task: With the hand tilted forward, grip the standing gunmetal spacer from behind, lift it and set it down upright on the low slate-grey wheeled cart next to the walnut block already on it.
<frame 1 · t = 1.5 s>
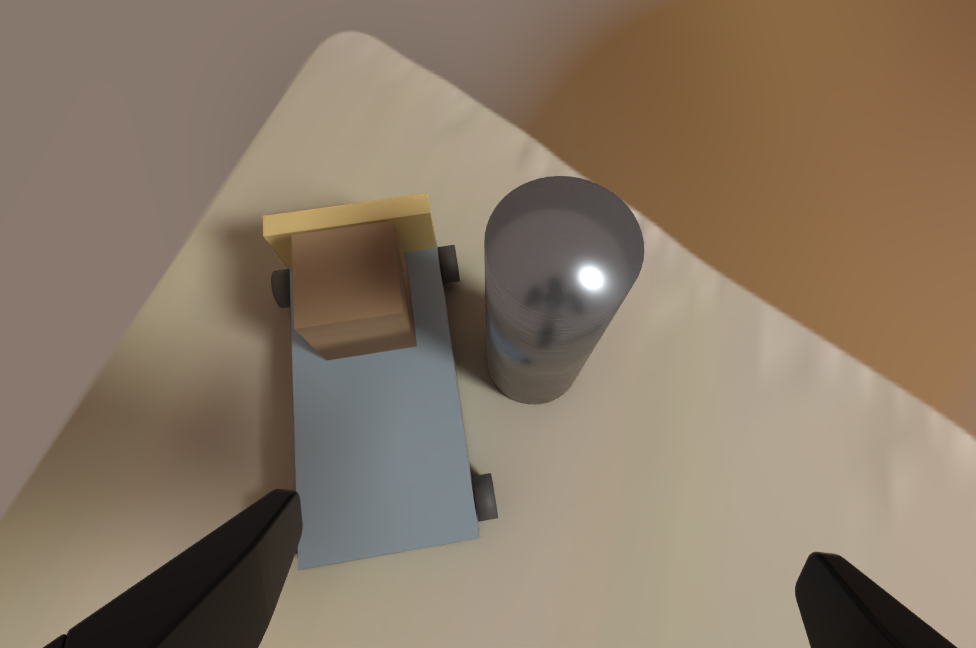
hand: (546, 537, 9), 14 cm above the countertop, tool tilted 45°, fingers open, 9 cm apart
cart: (382, 389, 24), on the countertop
collected block: (368, 312, 23), point 2 cm above the countertop, touching cart
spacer: (532, 358, 24), on the countertop
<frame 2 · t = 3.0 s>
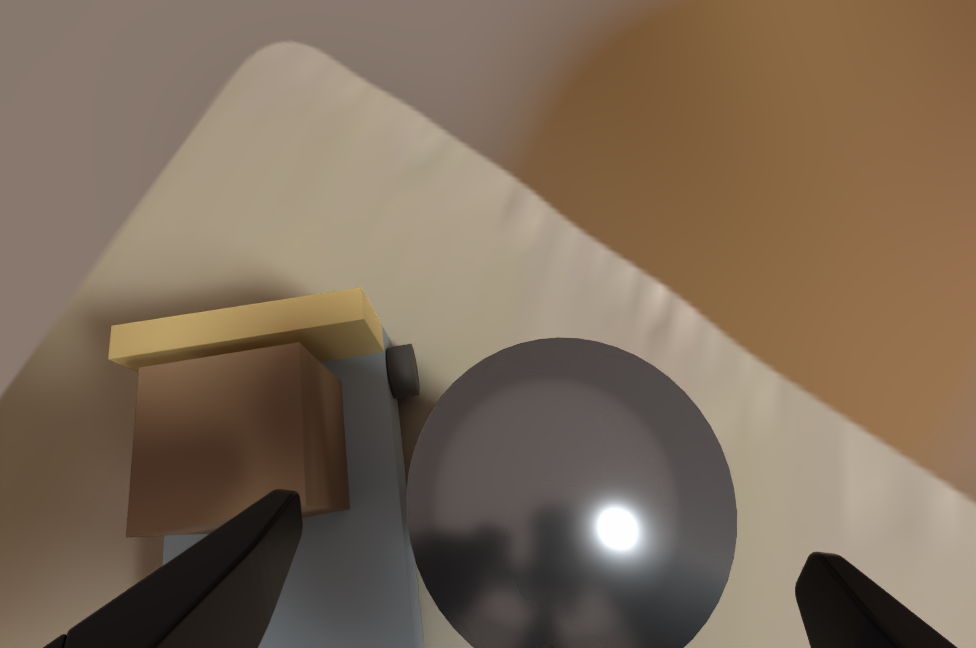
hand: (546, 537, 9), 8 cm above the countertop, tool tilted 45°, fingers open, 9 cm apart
cart: (305, 560, 17), on the countertop
collected block: (281, 453, 16), point 2 cm above the countertop, touching cart
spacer: (521, 509, 17), on the countertop
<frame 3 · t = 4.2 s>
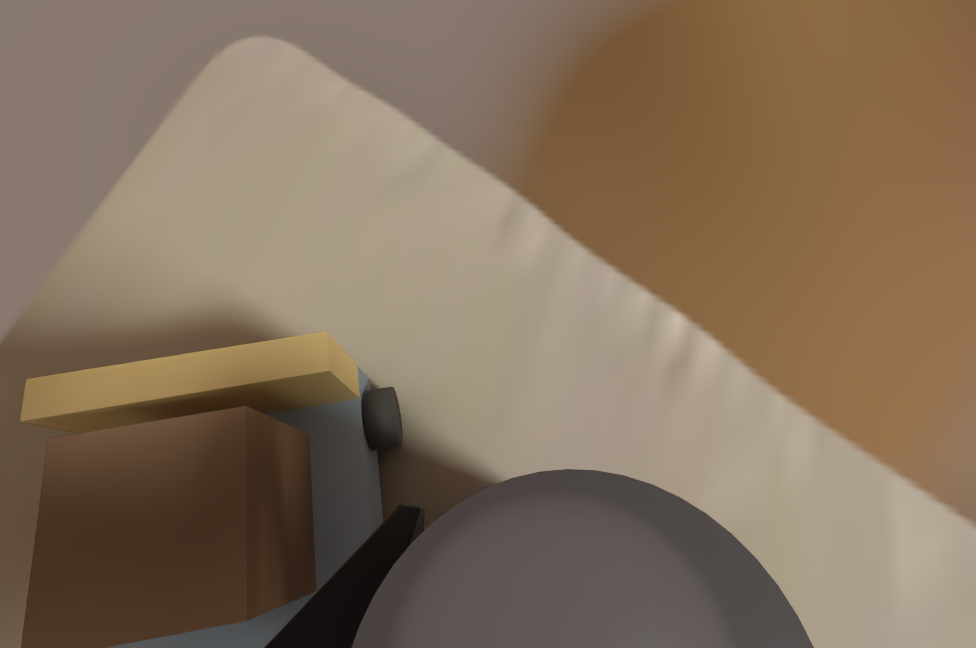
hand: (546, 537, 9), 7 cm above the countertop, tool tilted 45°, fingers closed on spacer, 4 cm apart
cart: (266, 643, 14), on the countertop
collected block: (237, 522, 14), point 2 cm above the countertop, touching cart
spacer: (519, 581, 15), on the countertop, touching gripper
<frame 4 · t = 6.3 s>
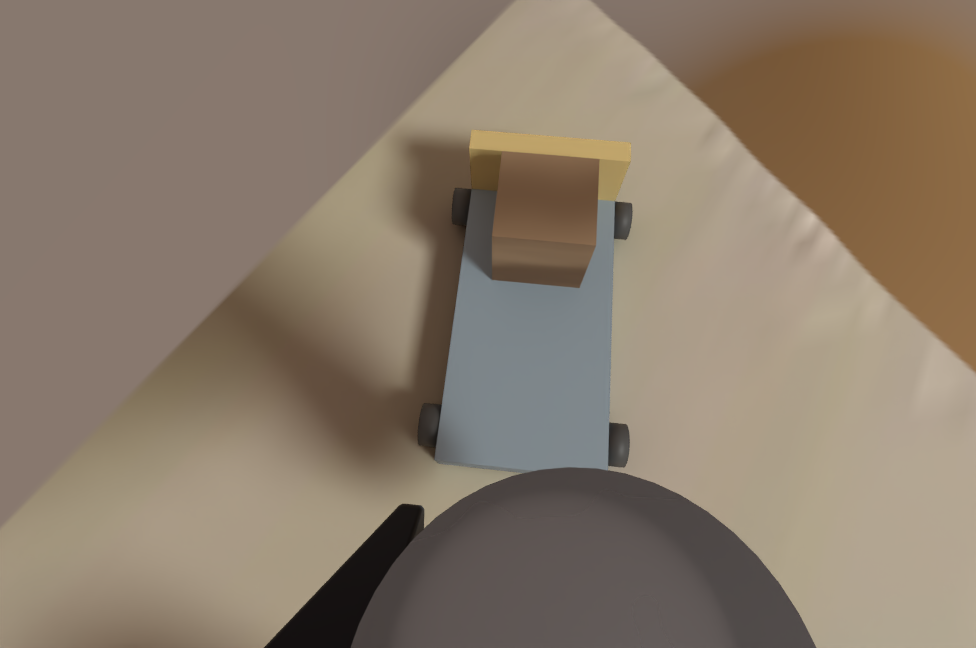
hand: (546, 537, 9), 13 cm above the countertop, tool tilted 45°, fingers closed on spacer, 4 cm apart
cart: (530, 322, 25), on the countertop
collected block: (538, 245, 24), point 2 cm above the countertop, touching cart
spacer: (519, 580, 15), point 7 cm above the countertop, touching gripper
when the fingers open (9 cm above the countertop, at t = 8.4 s): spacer drops 1 cm, resting on cart.
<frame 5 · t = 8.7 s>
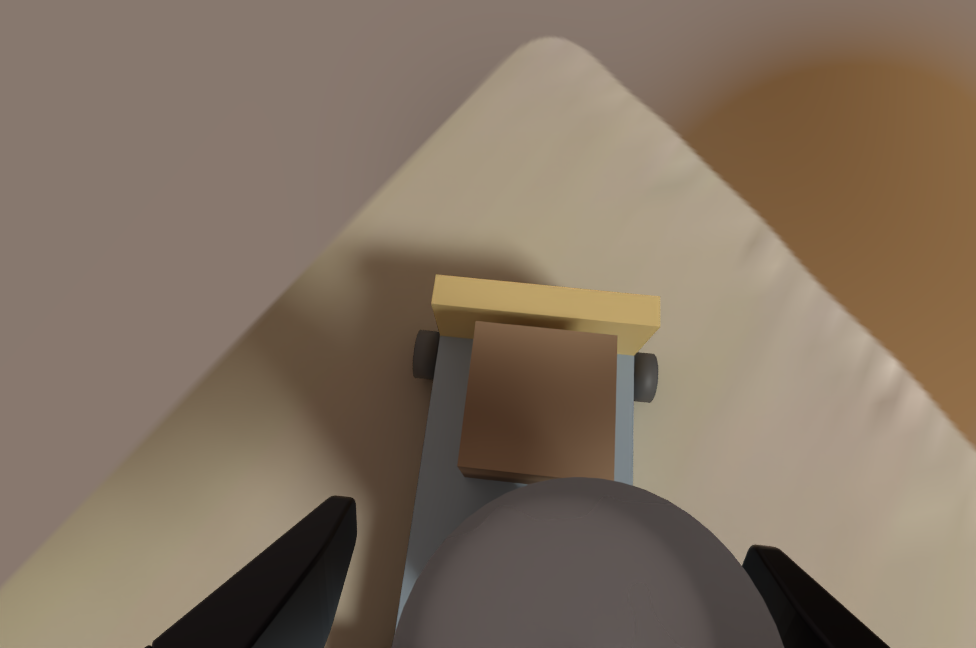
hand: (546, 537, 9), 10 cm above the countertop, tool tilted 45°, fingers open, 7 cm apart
cart: (518, 522, 18), on the countertop
collected block: (530, 423, 17), point 2 cm above the countertop, touching cart
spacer: (515, 578, 16), point 2 cm above the countertop, touching cart
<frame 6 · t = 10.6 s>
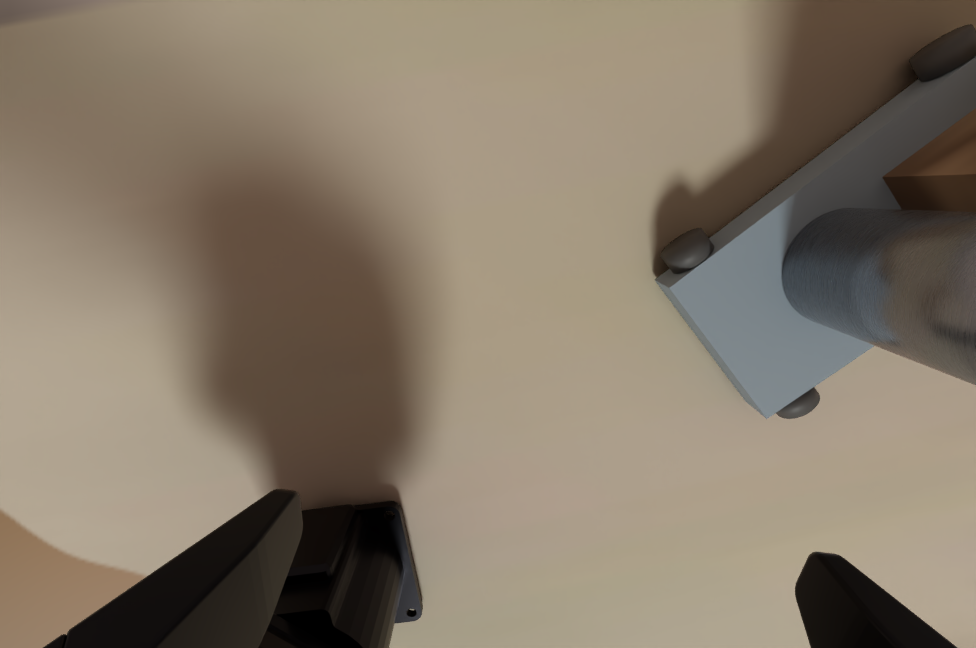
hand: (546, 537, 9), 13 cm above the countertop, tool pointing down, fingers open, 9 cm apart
cart: (846, 237, 21), on the countertop
collected block: (958, 184, 18), point 2 cm above the countertop, touching cart
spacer: (840, 267, 19), point 2 cm above the countertop, touching cart
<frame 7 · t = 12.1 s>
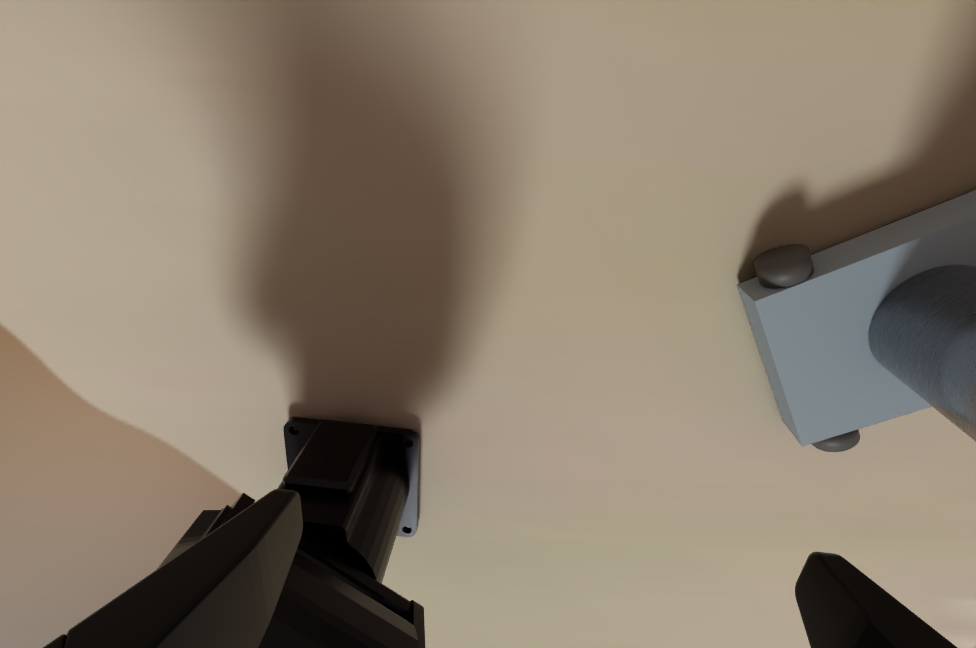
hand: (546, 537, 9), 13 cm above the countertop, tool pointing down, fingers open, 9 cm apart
cart: (948, 289, 20), on the countertop
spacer: (935, 323, 18), point 2 cm above the countertop, touching cart
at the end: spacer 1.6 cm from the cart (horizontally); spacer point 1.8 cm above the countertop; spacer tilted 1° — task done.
